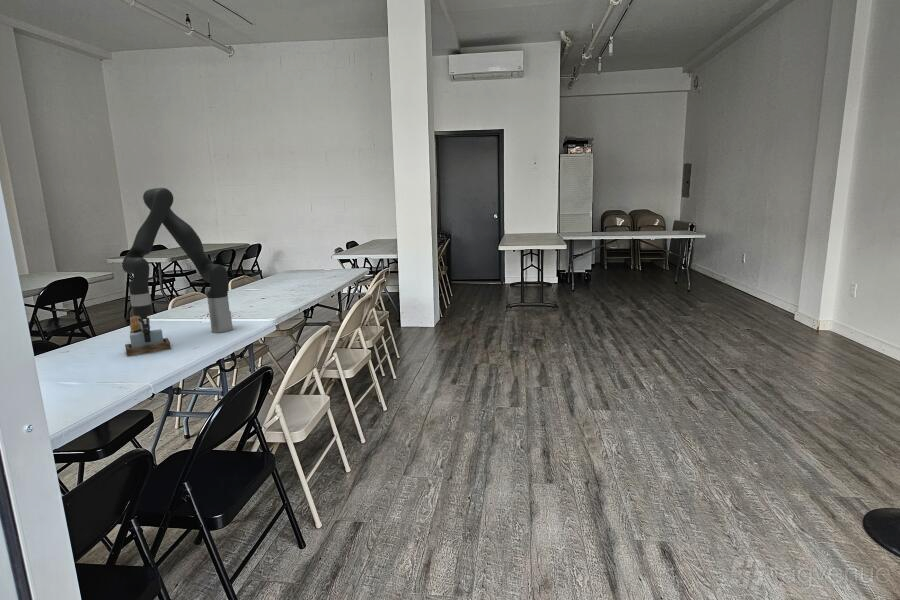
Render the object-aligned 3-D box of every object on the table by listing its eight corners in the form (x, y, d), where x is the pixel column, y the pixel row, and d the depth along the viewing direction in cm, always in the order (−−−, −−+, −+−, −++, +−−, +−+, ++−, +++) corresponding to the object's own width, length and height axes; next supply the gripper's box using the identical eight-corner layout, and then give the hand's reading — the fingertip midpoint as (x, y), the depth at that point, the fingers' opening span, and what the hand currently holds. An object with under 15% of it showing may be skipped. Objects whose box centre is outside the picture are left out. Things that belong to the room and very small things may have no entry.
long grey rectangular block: (163, 344, 227) (161, 329, 225) (164, 346, 224) (161, 330, 222) (131, 349, 220) (129, 333, 219) (132, 351, 217) (129, 335, 216)
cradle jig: (168, 344, 231) (167, 337, 230) (171, 349, 223) (170, 342, 222) (126, 351, 221) (124, 344, 221) (127, 356, 214) (126, 349, 213)
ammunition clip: (135, 341, 237) (131, 316, 235) (131, 341, 237) (127, 316, 235) (150, 335, 247) (147, 311, 245) (147, 335, 248) (143, 311, 245)
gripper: (153, 305, 214) (158, 342, 218) (149, 300, 226) (155, 335, 229) (132, 307, 210) (138, 345, 213) (130, 302, 222) (135, 338, 225)
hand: (147, 340), depth 221 cm, fingers open, 8 cm apart
